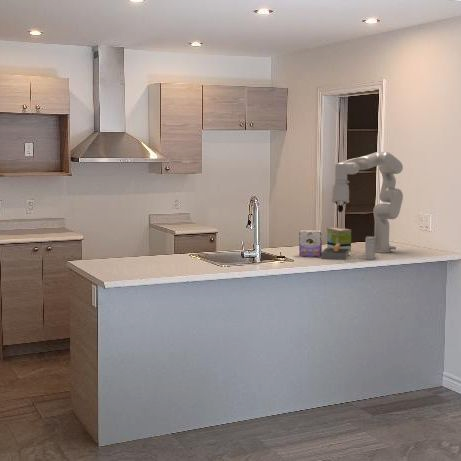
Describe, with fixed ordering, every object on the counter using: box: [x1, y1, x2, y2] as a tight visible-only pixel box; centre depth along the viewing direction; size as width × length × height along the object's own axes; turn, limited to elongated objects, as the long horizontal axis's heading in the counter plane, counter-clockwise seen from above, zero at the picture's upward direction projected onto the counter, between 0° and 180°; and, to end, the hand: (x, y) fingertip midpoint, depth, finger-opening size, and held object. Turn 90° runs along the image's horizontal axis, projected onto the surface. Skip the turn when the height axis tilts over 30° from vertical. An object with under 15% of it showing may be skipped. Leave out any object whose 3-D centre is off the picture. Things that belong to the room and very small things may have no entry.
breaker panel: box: [320, 247, 350, 261], centre depth 460 cm, size 15×20×4 cm
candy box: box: [298, 229, 323, 258], centre depth 462 cm, size 14×6×16 cm, turn 74°
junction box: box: [364, 235, 376, 261], centre depth 454 cm, size 5×12×13 cm, turn 165°
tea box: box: [326, 226, 352, 252], centre depth 488 cm, size 15×10×15 cm, turn 25°
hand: (340, 211), depth 456 cm, fingers closed
